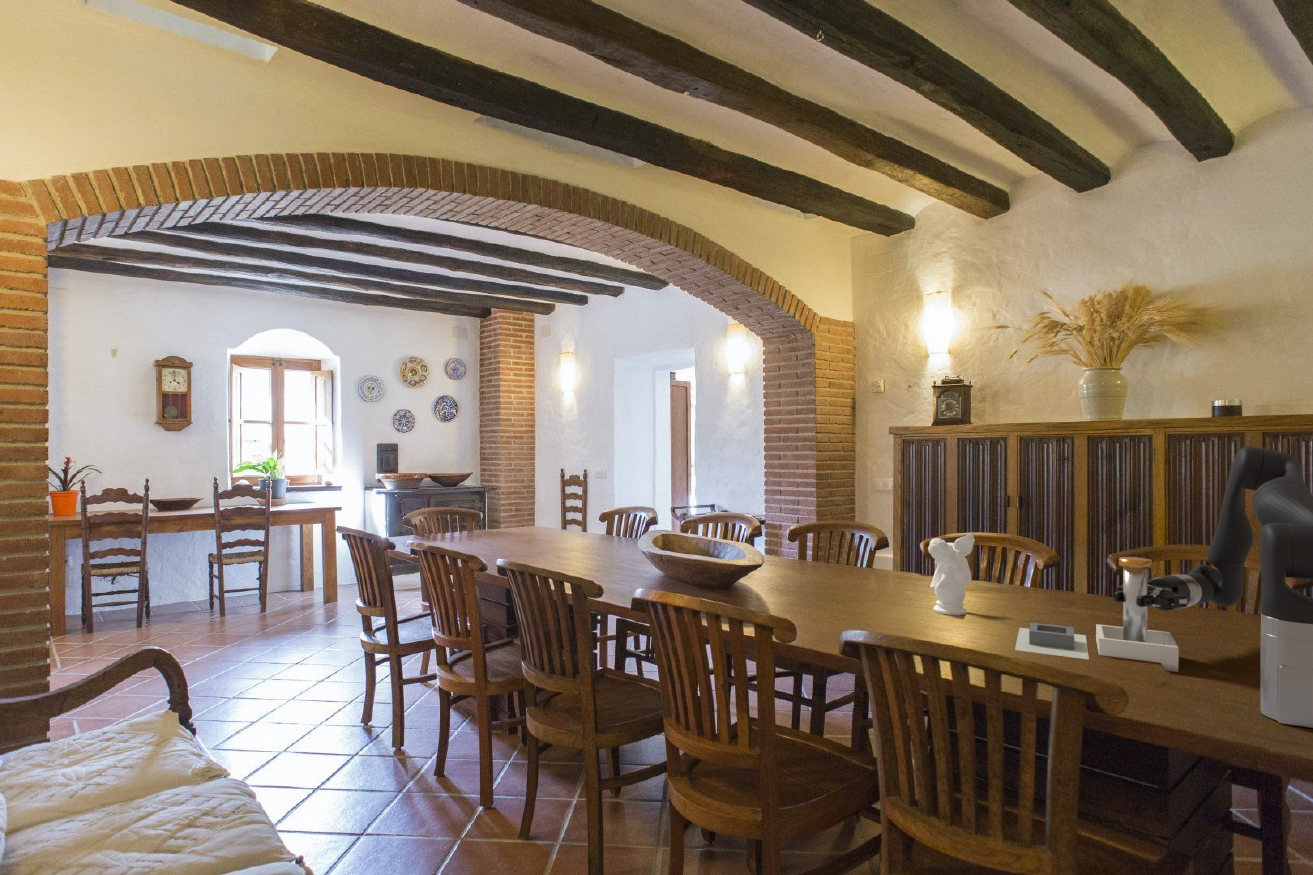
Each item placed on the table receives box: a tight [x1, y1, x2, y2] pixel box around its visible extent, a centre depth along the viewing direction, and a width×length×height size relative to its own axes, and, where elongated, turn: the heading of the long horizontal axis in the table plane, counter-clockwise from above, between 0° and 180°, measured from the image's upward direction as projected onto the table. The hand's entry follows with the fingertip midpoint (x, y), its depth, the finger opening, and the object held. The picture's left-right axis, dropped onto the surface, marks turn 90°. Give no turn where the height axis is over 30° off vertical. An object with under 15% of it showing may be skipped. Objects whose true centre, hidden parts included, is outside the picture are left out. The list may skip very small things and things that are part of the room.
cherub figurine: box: [927, 532, 976, 616], centre depth 206 cm, size 12×12×22 cm
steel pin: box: [1118, 556, 1153, 643], centre depth 161 cm, size 6×6×18 cm
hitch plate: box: [1014, 622, 1090, 660], centre depth 168 cm, size 22×14×4 cm, turn 151°
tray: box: [1095, 623, 1180, 673], centre depth 161 cm, size 14×14×5 cm
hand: (1127, 599), depth 160 cm, fingers closed on steel pin, 4 cm apart
